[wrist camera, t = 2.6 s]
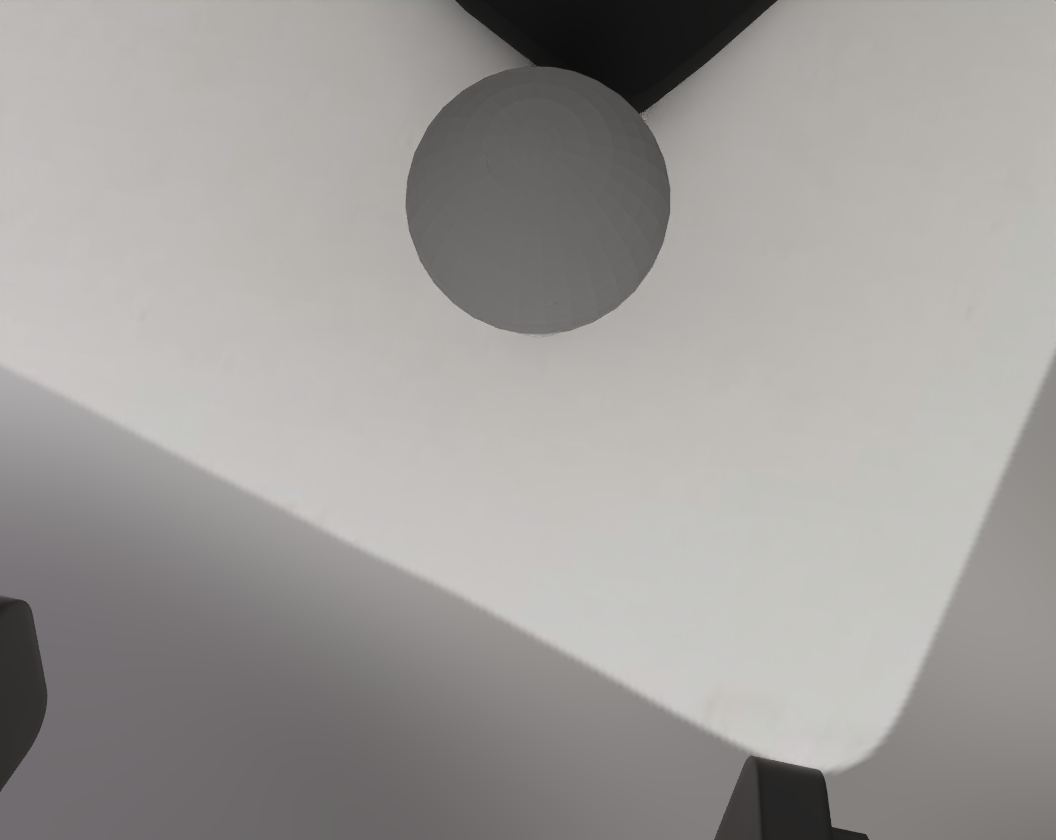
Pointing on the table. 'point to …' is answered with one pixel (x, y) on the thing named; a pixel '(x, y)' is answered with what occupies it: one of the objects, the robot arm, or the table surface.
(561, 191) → the light bulb
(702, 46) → the light switch
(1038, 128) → the table surface
